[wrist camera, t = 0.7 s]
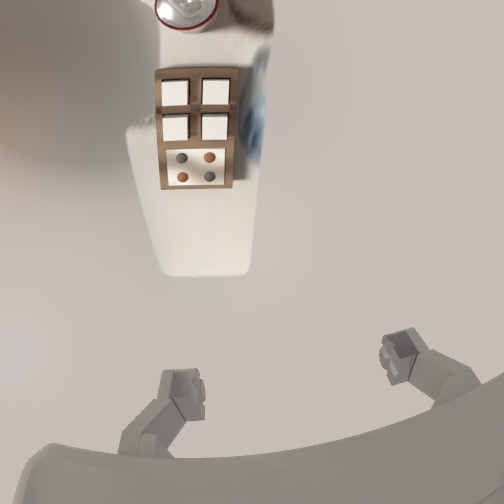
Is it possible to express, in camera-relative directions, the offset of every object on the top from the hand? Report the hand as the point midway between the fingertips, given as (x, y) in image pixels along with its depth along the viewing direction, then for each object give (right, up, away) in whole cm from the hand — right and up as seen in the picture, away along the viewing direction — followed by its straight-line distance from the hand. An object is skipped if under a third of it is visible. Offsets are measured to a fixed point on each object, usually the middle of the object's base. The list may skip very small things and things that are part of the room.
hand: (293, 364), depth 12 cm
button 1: (-13, +24, +29) cm, 40 cm away
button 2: (-13, +28, +26) cm, 41 cm away
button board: (-11, +25, +32) cm, 42 cm away
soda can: (-10, +40, +20) cm, 46 cm away
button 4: (-7, +28, +27) cm, 40 cm away
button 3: (-7, +24, +30) cm, 39 cm away
